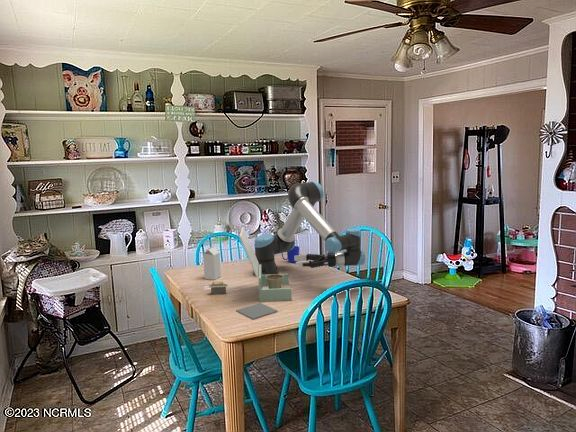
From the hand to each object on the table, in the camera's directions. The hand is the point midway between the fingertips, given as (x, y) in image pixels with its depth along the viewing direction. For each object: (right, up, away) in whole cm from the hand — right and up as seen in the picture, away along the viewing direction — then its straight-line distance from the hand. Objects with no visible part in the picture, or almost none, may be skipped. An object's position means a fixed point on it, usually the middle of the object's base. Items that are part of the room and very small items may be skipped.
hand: (295, 261), depth 232 cm
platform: (-41, -18, +4) cm, 45 cm away
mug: (-2, -7, +63) cm, 63 cm away
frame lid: (-23, +6, -2) cm, 24 cm away
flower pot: (-11, -17, +3) cm, 20 cm away
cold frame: (-11, -17, +3) cm, 20 cm away
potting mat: (-18, -21, -24) cm, 37 cm away
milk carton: (-49, -13, +32) cm, 60 cm away
